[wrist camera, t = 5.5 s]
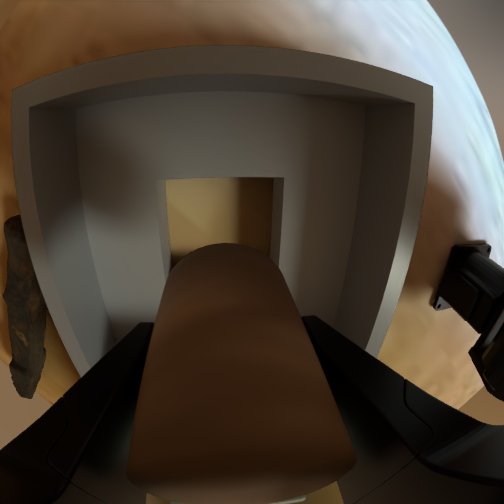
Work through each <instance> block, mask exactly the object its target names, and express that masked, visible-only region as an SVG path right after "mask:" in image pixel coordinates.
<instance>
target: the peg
mask: <svg viewBox="0 0 504 504" xmlns="http://www.w3.org/2000/svg"><path fill="white" fill-rule="evenodd" d="M356 462H357V456H356V453H355V451H354V448H353V446H352V443H351V440H350V438H349V435H348V433H347V430H346V427H345V425H344V422H343V420H342V417H341V415H340V412H339V409H338V407H337V404H336V402H335V399H334V397H333V394H332V392H331V389H330V387H329V384H328V382H327V379H326V377H325V374H324V372H323V369H322V367H321V364H320V362H319V360H318V357H317V355H316V352H315V350H314V347H313V345H312V343H311V340H310V338H309V335H308V333H307V330H306V328H305V326H304V323H303V321H302V318H301V316H300V314H299V311H298V309H297V307H296V304H295V302H294V299H293V297H292V295H291V292H290V290H289V288H288V285H287V283H286V281H285V278H284V276H283V274H282V272H281V270H280V269H279V267H278V266H277V265H276V264H275V263H274V262H273V261H272V260H271V259H270V258H269V257H268V256H266V255H265V254H263V253H262V252H260V251H258V250H256V249H254V248H251V247H248V246H245V245H240V244H234V243H221V244H213V245H208V246H205V247H202V248H199V249H197V250H195V251H193V252H191V253H189V254H188V255H186V256H185V257H183V258H182V259H181V260H180V261H179V262H178V263H177V264H176V265H175V266H174V267H173V269H172V270H171V272H170V274H169V275H168V278H167V280H166V283H165V287H164V290H163V294H162V297H161V301H160V305H159V308H158V312H157V316H156V320H155V324H154V328H153V332H152V336H151V340H150V344H149V348H148V353H147V357H146V361H145V366H144V370H143V375H142V380H141V385H140V390H139V395H138V400H137V406H136V411H135V417H134V423H133V429H132V435H131V442H130V449H129V456H128V464H127V472H126V474H127V478H128V480H129V481H130V482H131V483H132V484H133V485H134V486H136V487H137V488H139V489H141V490H142V491H144V492H147V493H149V494H151V495H154V496H156V497H159V498H162V499H166V500H169V501H173V502H178V503H183V504H270V503H276V502H280V501H285V500H289V499H293V498H296V497H300V496H303V495H306V494H309V493H311V492H314V491H316V490H319V489H321V488H323V487H325V486H327V485H329V484H331V483H333V482H335V481H337V480H338V479H340V478H341V477H343V476H344V475H345V474H347V473H348V472H349V471H350V470H351V469H352V468H353V467H354V465H355V464H356Z"/></svg>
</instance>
